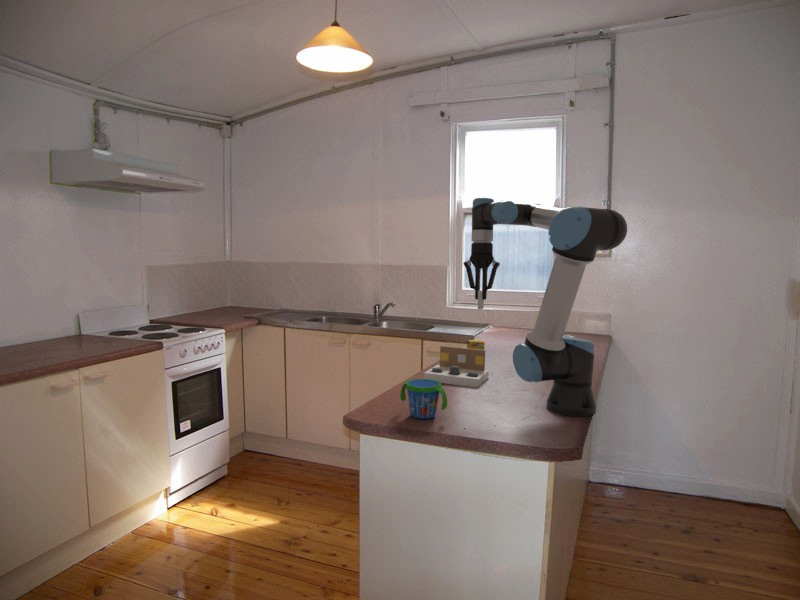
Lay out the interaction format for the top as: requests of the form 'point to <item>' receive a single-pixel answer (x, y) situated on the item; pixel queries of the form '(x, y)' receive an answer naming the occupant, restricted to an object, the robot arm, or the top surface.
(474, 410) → the top surface
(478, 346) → the supplement box
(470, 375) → the button right
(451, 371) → the button middle
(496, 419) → the top surface
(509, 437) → the top surface
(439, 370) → the button left
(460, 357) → the button panel
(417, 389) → the snack cup
